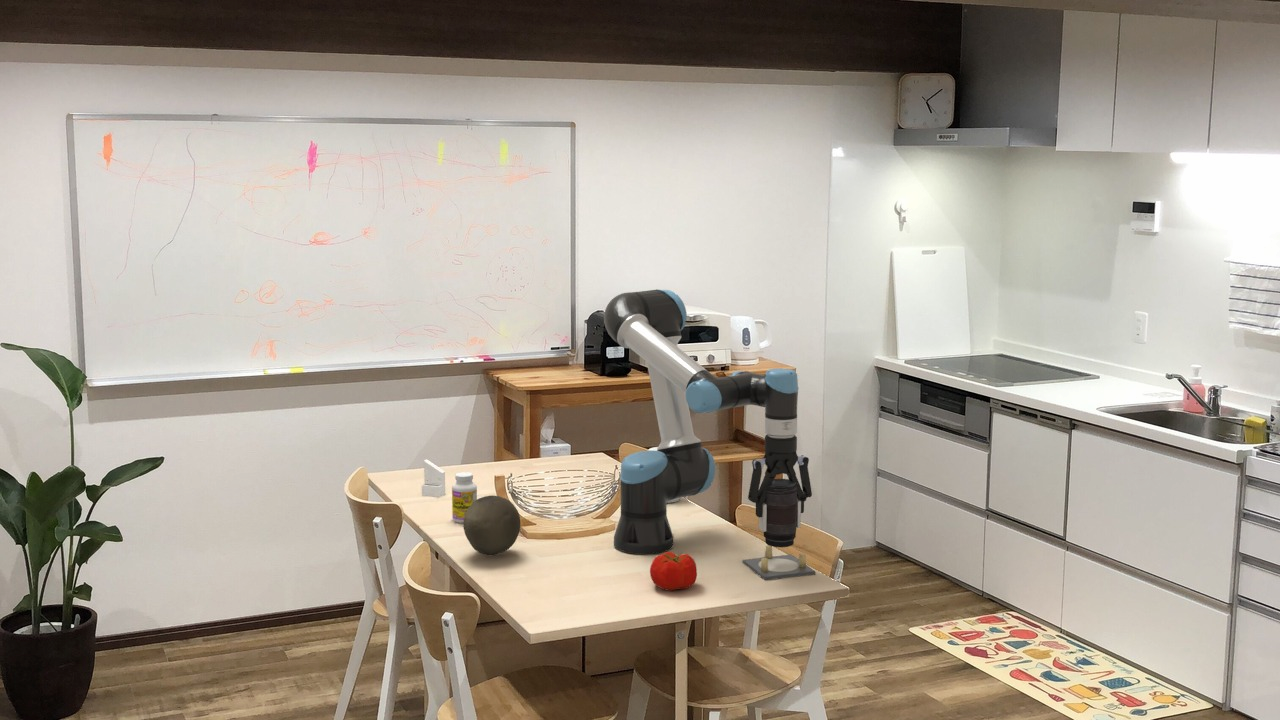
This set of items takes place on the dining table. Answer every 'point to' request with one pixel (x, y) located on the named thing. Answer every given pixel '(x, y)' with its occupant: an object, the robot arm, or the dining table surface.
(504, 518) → the matte black sphere
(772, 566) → the mount
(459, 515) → the supplement bottle
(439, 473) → the white wedge bracket
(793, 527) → the camera lens
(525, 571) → the dining table surface
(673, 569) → the tomato
